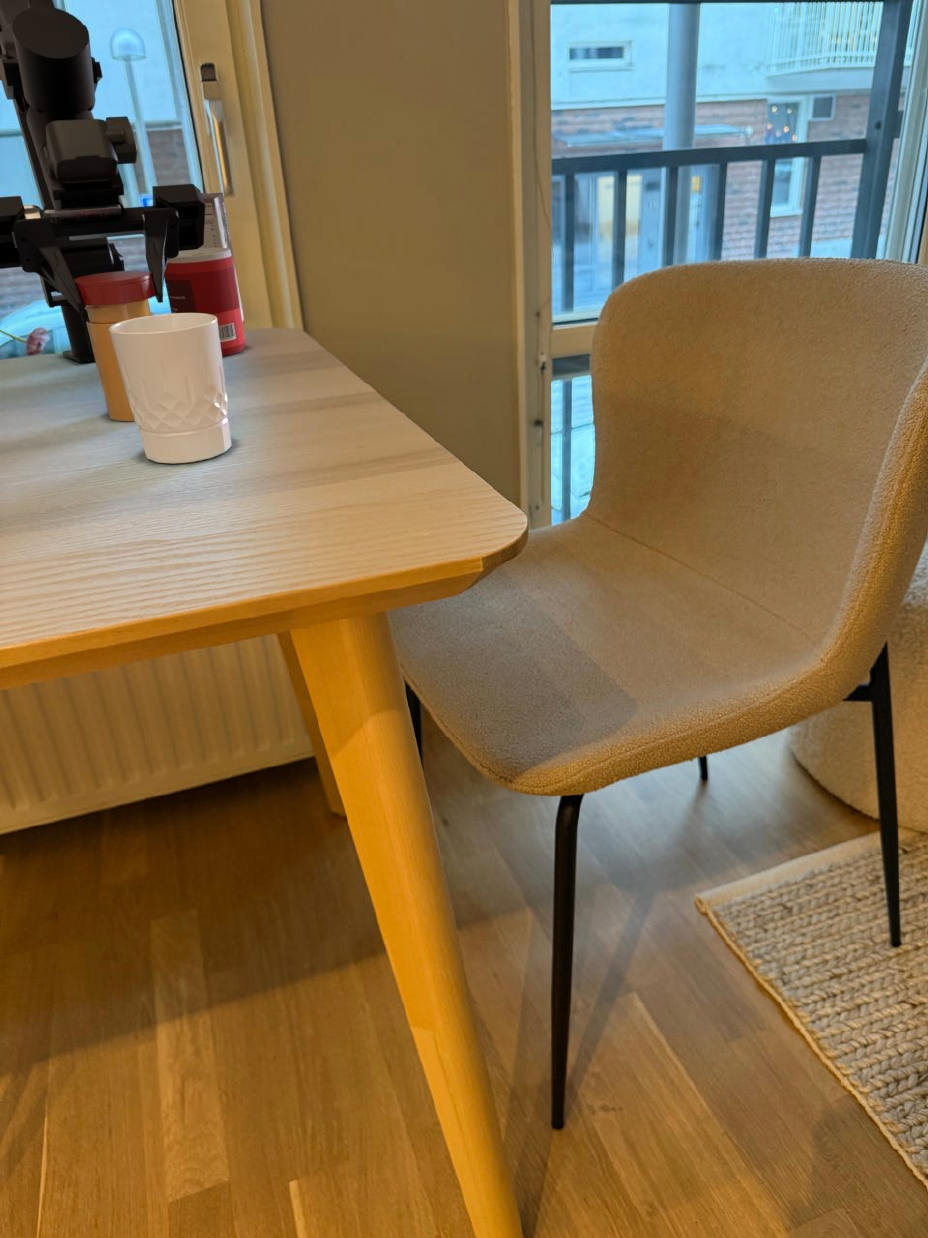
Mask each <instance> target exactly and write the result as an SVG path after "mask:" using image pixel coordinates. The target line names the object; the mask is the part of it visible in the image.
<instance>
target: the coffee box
mask: <svg viewBox="0 0 928 1238" xmlns="http://www.w3.org/2000/svg"><path fill="white" fill-rule="evenodd" d="M201 194H202V197H203V200H204V202H205V225H204V245H203V246H201V247H200V248H227V249H230V252H231V255H232V261H233V266H234V272H235V278H236V285H237V291H238V297H239V304H240V310H241V316H242V323H244V320H245V317H244V311H243V306H242V305H243V304H242V300H241V294H240V293H241V292H240V288H239V282H238V281H239V280H238V276H237V270H236V269H237V268H236V262H235V258H234V252H233V251H234V250H233V245H232V240H231V239H232V238H231V234H230V233H231V232H230V228H229V222H228V216H227V215H228V214H227V210H226V205H225V197H224V192H211V193H208V192H201Z"/></svg>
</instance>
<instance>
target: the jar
mask: <svg viewBox="0 0 928 1238" xmlns="http://www.w3.org/2000/svg"><path fill="white" fill-rule="evenodd" d="M85 309H86V310H87V312H88V316H89V320H87V321H86V323H87V327H88V331H89V335H90V340H91V344H92V348H93V352H94V356H95V360H94V361H95V364H96V367H97V368H96V369H97V373H98V377H99V380H100V385H101V389H102V392H103V397H104V401H105V405H106V409H107V414H108V417H109V419H111V420H113V421H117V422H135V420H134V415H133V413H132V410H131V407H130V404H129V401H128V397H127V393H126V390H125V386H124V383H123V379H122V375H121V372H120V368H119V364H118V361H117V357H116V354H115V350H114V346H113V343H112V339H111V336H110V332H109V327H110V326H112V325H114V324H116V323H119V322H122V321H125V320H130V319H134V318H140V317H146V316H153V315H155V313H154V312H151V308H150V302H149V299H146V300H141V301H137V302H131V303H124V304H115V305H100V306H89V305H86V306H85Z"/></svg>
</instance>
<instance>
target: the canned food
mask: <svg viewBox="0 0 928 1238" xmlns="http://www.w3.org/2000/svg"><path fill="white" fill-rule="evenodd" d="M164 283H165V288H166V289H165V290H166V295H167V298H168V304H169V310H170V314H174V313H204V314H210V315H214V316H216V317H217V321H218V329H219V337H220V344H221V352H222V358H223V357H228V356H232V355H236V354H238V353H241V352H242V351H243V350H244V349H245V347H246V346H245V345H246V337H245V330H244V324H243V323H244V322H243V323H242V316H241V310H240V304H239V297H238V291H237V285H236V278H235V272H234V266H233V261H232V255H231V252H230V249H227V248H199V249H196V250H186V251H179V255H178V256H177V257H175V258H171V259H168V262H167V266H166V269H165V273H164Z"/></svg>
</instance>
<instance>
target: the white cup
mask: <svg viewBox="0 0 928 1238" xmlns="http://www.w3.org/2000/svg"><path fill="white" fill-rule="evenodd" d="M109 332H110V336H111V339H112V343H113V346H114V350H115V354H116V357H117V361H118V364H119V368H120V372H121V375H122V379H123V383H124V386H125V390H126V393H127V397H128V401H129V404H130V407H131V410H132V413H133V415H134V420H135V421H134V423H135V424H136V425H137V427H138V432H139V434H140V439H141V442H142V446H143V449H144V454H145V457H146V459H148V460H150V461H153V462H155V463H160V464H161V463H162V464H186V463H195V462H199V461H203V460H207V459H212V458H214V457H217V456H219V455H222V454H224V453H226V452H227V451H228V450H229V449H230V448H231V447H232V439H231V430H230V423H229V417H228V413H229V404H228V394H227V386H226V375H225V374H226V373H225V368H224V360H223V357H222V352H221V344H220V337H219V329H218V321H217V317H216V316H214V315H210V314H204V313H174V314H171V313H164V314H154V315H153V316H146V317H140V318H134V319H130V320H125V321H122V322H119V323H116V324H114V325H112V326H110V327H109Z"/></svg>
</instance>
